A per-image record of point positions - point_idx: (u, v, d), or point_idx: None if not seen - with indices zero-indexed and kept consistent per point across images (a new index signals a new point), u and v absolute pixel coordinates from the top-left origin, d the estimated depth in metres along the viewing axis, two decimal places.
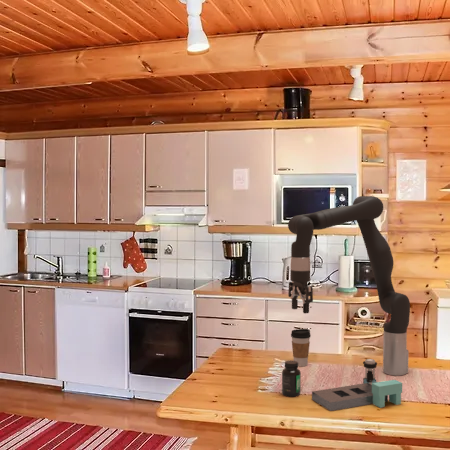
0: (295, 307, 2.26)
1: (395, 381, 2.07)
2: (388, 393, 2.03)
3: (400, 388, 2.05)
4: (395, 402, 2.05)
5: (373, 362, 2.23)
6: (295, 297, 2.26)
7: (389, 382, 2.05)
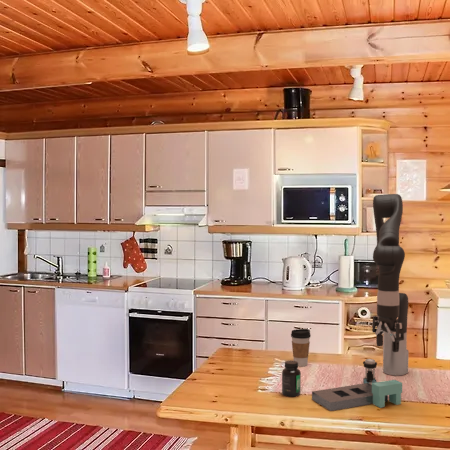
0: (380, 344, 2.08)
1: (395, 381, 2.07)
2: (388, 393, 2.03)
3: (400, 388, 2.05)
4: (395, 402, 2.05)
5: (373, 362, 2.23)
6: (380, 333, 2.08)
7: (389, 382, 2.05)
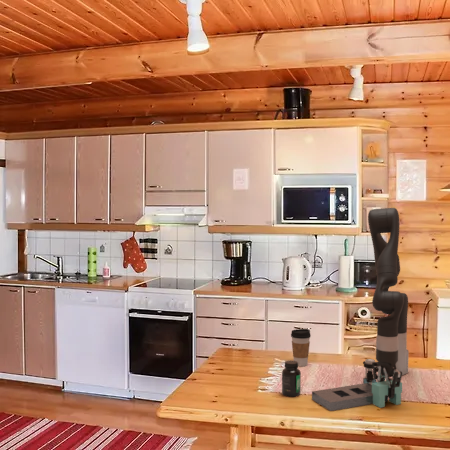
0: None
1: None
2: None
3: (400, 388, 2.05)
4: (395, 402, 2.05)
5: None
6: (382, 380, 2.08)
7: None
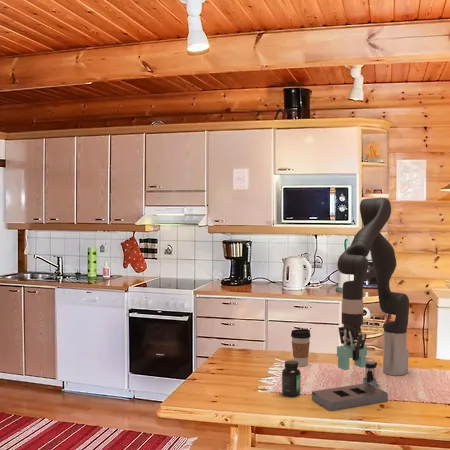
0: None
1: (360, 345, 2.09)
2: None
3: (365, 351, 2.07)
4: (360, 365, 2.07)
5: (373, 362, 2.23)
6: (349, 344, 2.10)
7: None
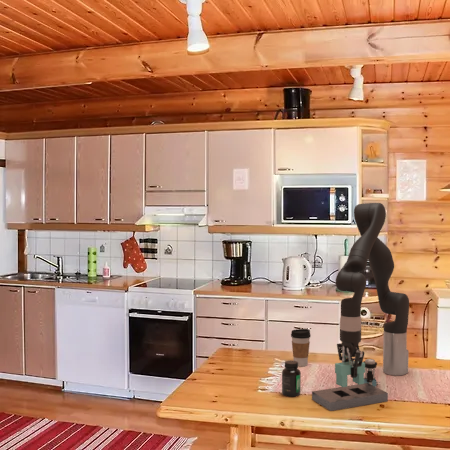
0: None
1: None
2: None
3: (363, 368, 2.08)
4: (358, 382, 2.08)
5: (373, 362, 2.23)
6: (347, 361, 2.10)
7: None
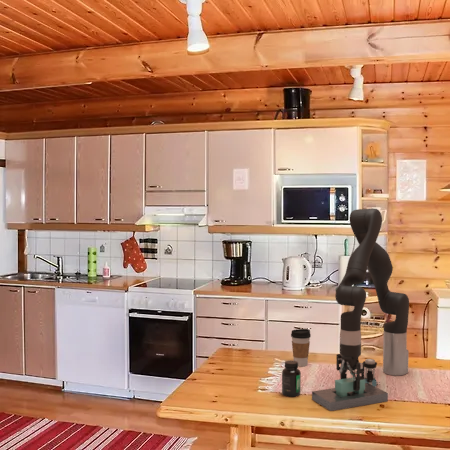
0: None
1: None
2: (350, 390, 2.06)
3: (363, 385, 2.08)
4: None
5: (373, 362, 2.23)
6: (344, 371, 2.12)
7: (352, 379, 2.09)
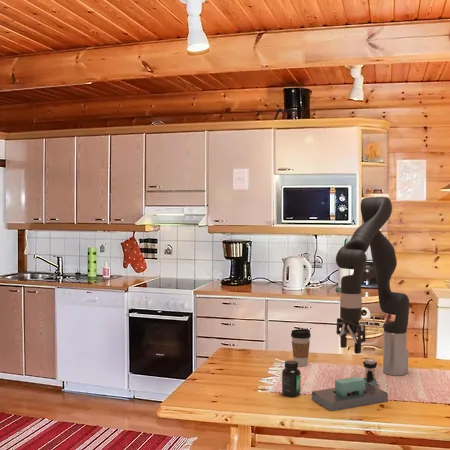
0: (344, 345, 2.12)
1: (358, 378, 2.10)
2: (350, 390, 2.06)
3: (363, 385, 2.08)
4: None
5: (373, 362, 2.23)
6: (344, 335, 2.12)
7: (352, 379, 2.09)
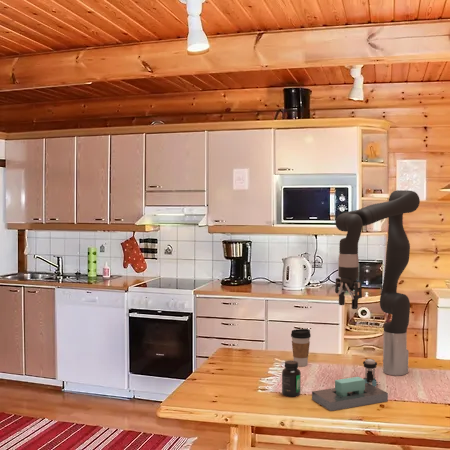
0: (342, 303, 2.29)
1: (358, 378, 2.10)
2: (350, 390, 2.06)
3: (363, 385, 2.08)
4: None
5: (373, 362, 2.23)
6: (342, 293, 2.29)
7: (352, 379, 2.09)
